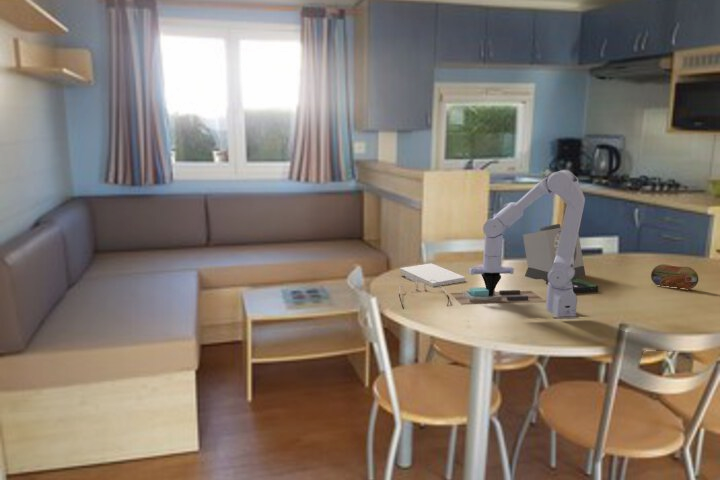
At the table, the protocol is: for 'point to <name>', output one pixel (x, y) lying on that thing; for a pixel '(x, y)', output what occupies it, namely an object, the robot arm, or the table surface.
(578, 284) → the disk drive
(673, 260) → the table surface
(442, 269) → the white flat block
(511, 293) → the grey blocks
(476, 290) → the plug
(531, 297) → the base board
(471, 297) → the grey slab
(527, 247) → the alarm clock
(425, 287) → the eyeglasses
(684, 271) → the tin
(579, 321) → the table surface
